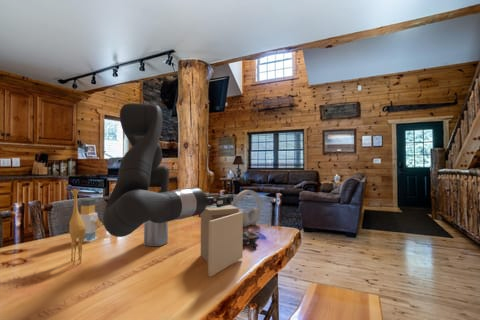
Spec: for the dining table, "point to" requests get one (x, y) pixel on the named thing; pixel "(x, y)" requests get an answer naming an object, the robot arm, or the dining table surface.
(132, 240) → the dining table surface
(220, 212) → the carton
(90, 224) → the character figure
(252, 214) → the headphones
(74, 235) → the giraffe
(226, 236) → the flap
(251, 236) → the figurine
